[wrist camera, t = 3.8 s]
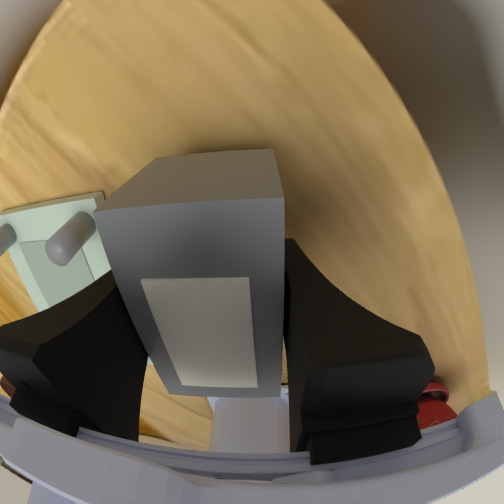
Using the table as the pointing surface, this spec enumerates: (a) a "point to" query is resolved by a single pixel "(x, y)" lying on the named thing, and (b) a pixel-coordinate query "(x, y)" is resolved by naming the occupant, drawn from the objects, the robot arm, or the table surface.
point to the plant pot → (434, 406)
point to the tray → (46, 228)
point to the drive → (203, 269)
